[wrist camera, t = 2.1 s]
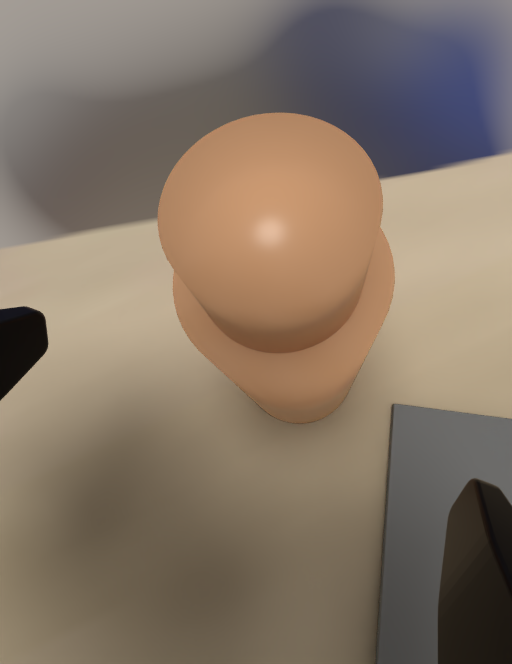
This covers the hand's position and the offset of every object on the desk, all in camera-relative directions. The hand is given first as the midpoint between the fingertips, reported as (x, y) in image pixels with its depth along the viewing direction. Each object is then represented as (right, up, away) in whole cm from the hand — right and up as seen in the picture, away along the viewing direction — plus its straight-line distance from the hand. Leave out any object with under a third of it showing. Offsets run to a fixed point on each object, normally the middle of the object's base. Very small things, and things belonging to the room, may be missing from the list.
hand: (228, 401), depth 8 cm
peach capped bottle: (+2, 0, +10) cm, 10 cm away
